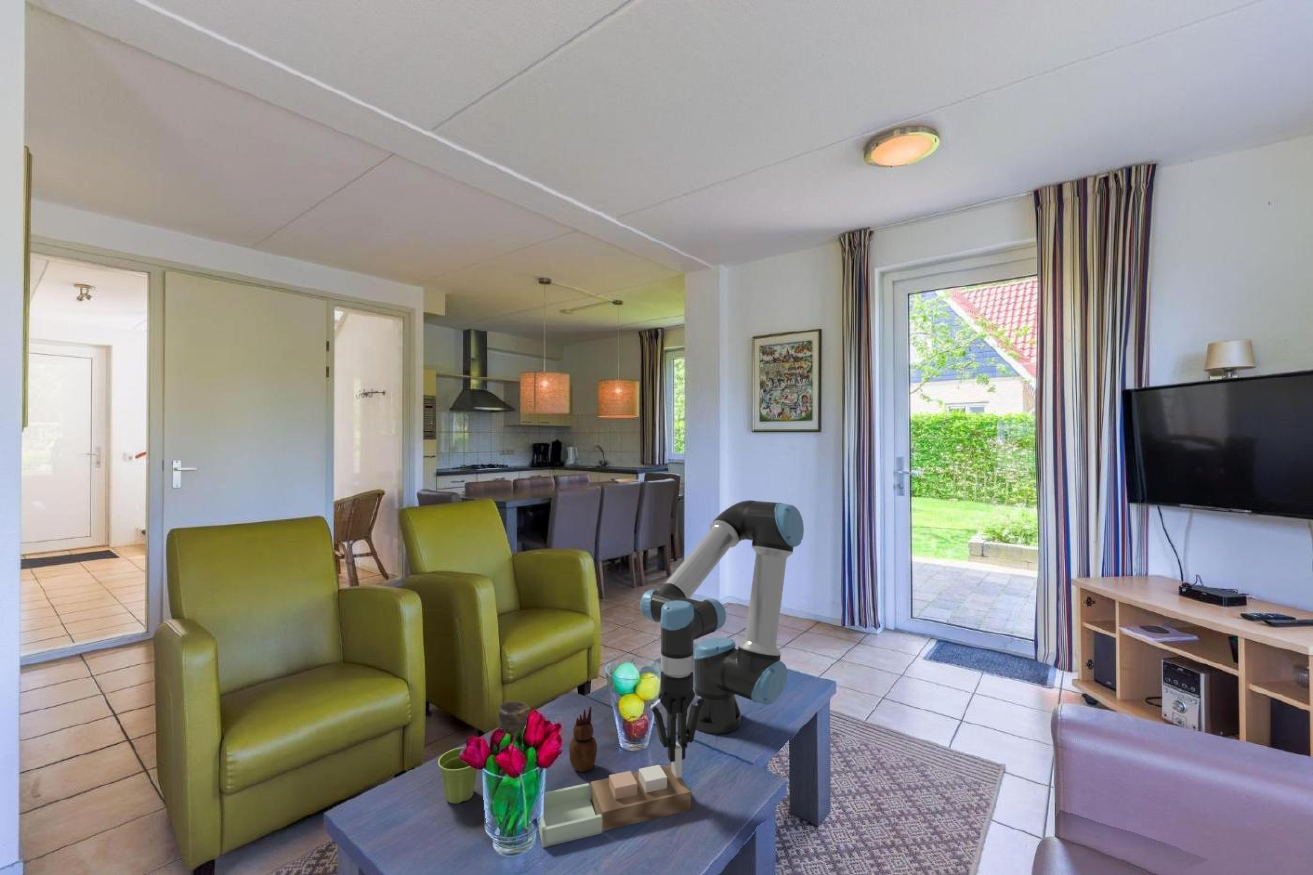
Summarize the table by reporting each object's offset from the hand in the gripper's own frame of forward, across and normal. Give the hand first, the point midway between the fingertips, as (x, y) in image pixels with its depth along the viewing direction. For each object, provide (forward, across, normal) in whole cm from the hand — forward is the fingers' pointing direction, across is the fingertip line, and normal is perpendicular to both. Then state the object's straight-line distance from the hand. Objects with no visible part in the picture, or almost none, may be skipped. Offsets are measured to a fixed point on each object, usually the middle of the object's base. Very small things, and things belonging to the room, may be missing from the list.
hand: (676, 773), depth 130 cm
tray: (+5, +25, 0) cm, 26 cm away
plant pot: (+6, +47, -17) cm, 50 cm away
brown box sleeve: (+5, +9, 0) cm, 10 cm away
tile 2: (+1, +6, 0) cm, 6 cm away
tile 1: (+1, +13, 0) cm, 13 cm away
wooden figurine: (+5, +18, -18) cm, 26 cm away
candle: (+6, +35, -14) cm, 38 cm away
